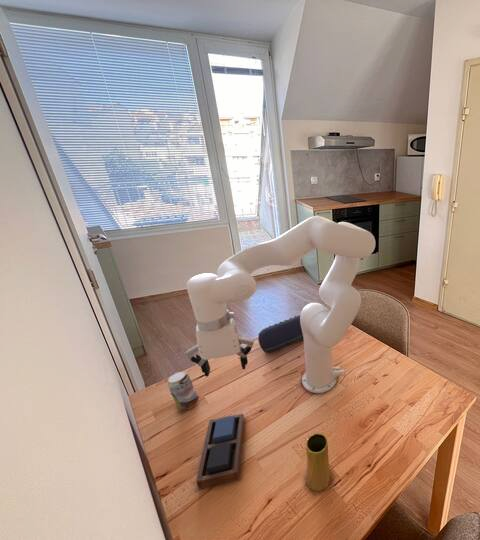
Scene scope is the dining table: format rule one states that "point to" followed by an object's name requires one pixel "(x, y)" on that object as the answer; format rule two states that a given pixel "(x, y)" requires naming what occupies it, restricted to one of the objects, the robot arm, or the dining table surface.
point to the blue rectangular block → (224, 430)
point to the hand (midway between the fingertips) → (226, 369)
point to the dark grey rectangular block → (220, 458)
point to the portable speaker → (280, 334)
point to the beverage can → (182, 390)
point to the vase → (317, 462)
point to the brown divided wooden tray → (233, 474)
